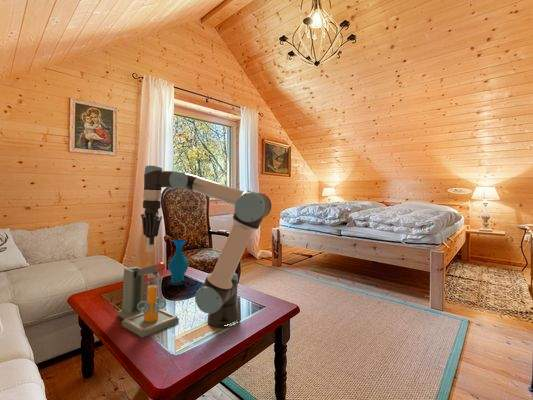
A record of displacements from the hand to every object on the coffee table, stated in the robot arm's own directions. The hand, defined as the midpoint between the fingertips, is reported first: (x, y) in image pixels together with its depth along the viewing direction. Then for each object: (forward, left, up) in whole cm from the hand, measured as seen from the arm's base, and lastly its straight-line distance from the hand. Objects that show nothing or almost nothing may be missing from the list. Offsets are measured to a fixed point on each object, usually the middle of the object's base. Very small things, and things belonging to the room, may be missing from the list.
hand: (149, 251), depth 127 cm
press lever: (-1, 0, -13) cm, 13 cm away
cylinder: (-4, 0, -31) cm, 31 cm away
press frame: (+2, 0, -32) cm, 32 cm away
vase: (+34, -44, -33) cm, 65 cm away
